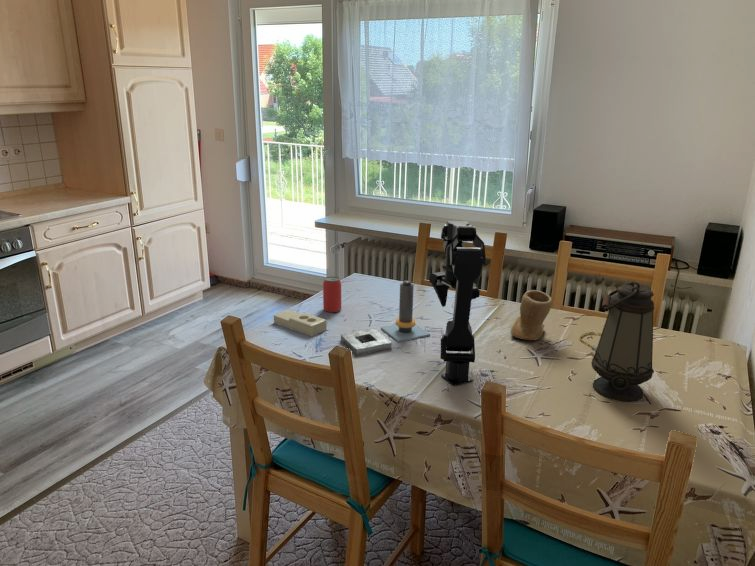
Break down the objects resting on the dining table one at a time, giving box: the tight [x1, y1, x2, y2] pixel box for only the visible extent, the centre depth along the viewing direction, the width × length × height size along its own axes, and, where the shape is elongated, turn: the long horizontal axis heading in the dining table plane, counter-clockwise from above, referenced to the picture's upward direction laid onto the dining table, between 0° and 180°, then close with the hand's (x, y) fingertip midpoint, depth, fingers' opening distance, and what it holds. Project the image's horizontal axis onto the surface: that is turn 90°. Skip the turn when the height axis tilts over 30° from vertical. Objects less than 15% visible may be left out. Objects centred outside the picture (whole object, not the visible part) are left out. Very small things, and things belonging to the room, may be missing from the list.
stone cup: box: [510, 289, 553, 341], centre depth 180 cm, size 15×12×15 cm
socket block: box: [340, 328, 393, 356], centre depth 172 cm, size 12×12×2 cm
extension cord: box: [579, 331, 602, 351], centre depth 176 cm, size 12×16×2 cm
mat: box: [380, 323, 431, 343], centre depth 182 cm, size 12×12×1 cm
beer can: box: [322, 275, 342, 313], centre depth 198 cm, size 7×7×12 cm
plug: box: [395, 280, 416, 333], centre depth 179 cm, size 6×6×17 cm
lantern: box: [591, 280, 655, 403], centre depth 143 cm, size 18×15×30 cm
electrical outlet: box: [273, 309, 328, 337], centre depth 185 cm, size 7×4×18 cm
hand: (452, 311), depth 168 cm, fingers open, 9 cm apart
